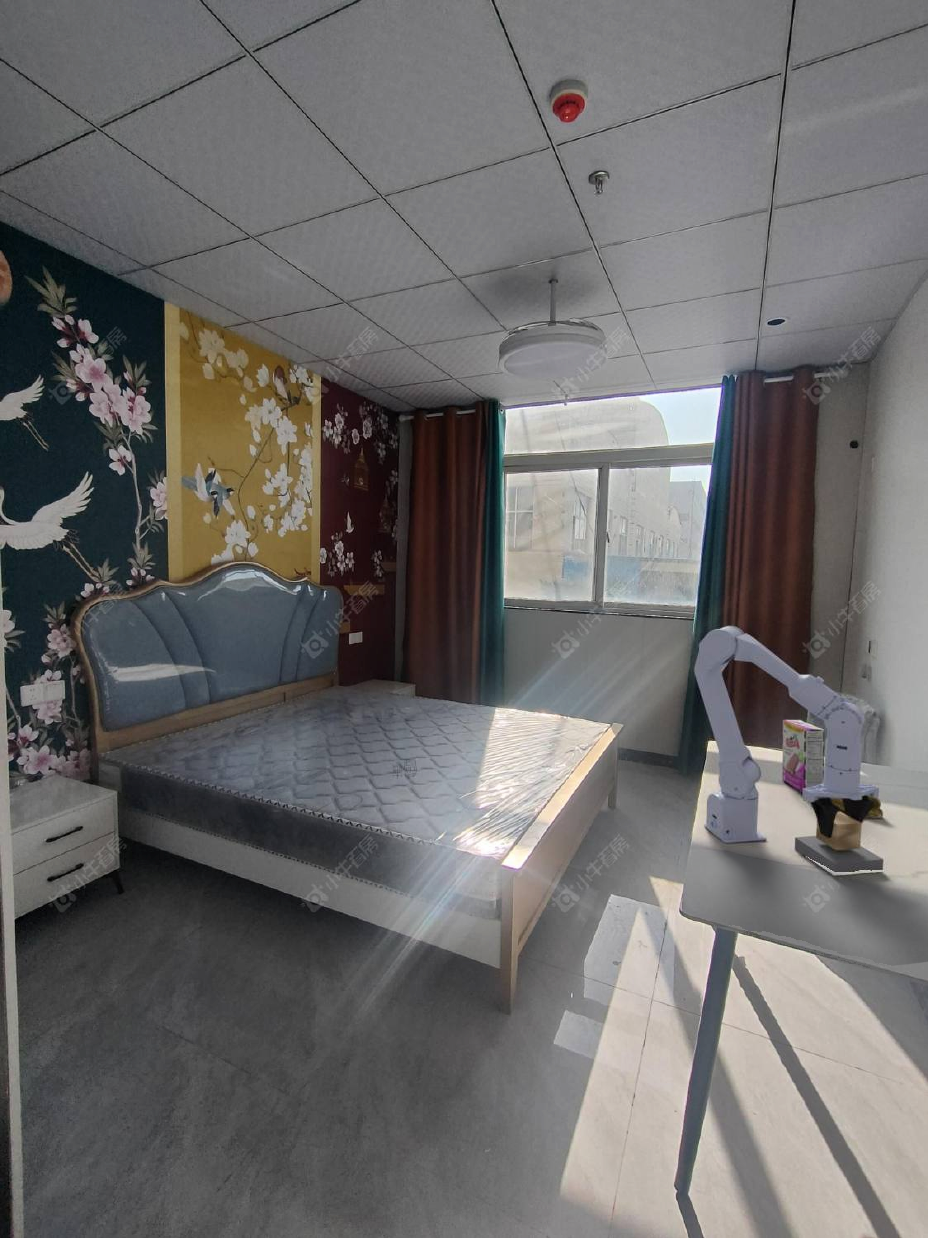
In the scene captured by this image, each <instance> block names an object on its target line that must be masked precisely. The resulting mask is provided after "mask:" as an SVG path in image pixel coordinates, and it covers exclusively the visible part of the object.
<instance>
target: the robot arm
mask: <svg viewBox="0 0 928 1238" xmlns="http://www.w3.org/2000/svg"><path fill="white" fill-rule="evenodd" d="M698 649H699V650H698V654H697V657H696V660H695V664H694V667H693V668H694V669H693V671H694V676H695V678H696V681H697V682H696V683H697V685H698V688H699V691H700V695H701V698H702V701H703V704H704V708H705V711H706V715H707V717H708V720H709V723H710V727H711V730H712V733H713V738H714V740H715V742H716V743H715V744H716V745H717V749H718V755H717V756H718V757H717V765H718V769H719V775H718V784H719V787H720V790H718V791H716V792H715V793H714V792H713V793H711V794H709V795H708V797H707V800H706V818H705V819H706V820H705V821H706V822H705V823H704V824H703V827H705V828H706V830H707V829H708V830H709V831H710V832H711V833H712V834H713V835H715V836H716V837H717V838H718V839H720V840H721V841H722V842H723V843H726V844H728V843H741V842H742V843H743V842H755V841H756V842H757V841H766V840H767V836H765V835H764V834H762V833H761V832H759V831H758V816H759V815H758V814H759V794H760V793H759V791H758V789H757V787H756V784H757V783H758V782H759V781H760V779H761V777H762V770H761V767H760V766H759V763H757V761H756V760H755V759H754V757H753V756H752V754H751V751H750V749H749V748H748V747H747V746H746V745H745V743H744V740H743V736H742V734H741V731H740V727H739V724H738V721H737V717H736V715H735V711H734V708H733V706H732V702H731V699H730V696H729V693H728V689H727V687H726V683H725V680H724V677H723V672H724V670H725V668H726V667H727V665H728V664H729V663H730V661H732V659H733V660H734V661H738V662H748V663H749V662H751V663H753V664H754V665H755V666H757V667H759V668H760V669H761V670H763V671H765V672H766V673H767V674H769V675H770V676H771V677H772V678H774V679H776V680H777V681H778V682H780V683H782V684H783V685H784V686H786V687H787V689H788V694H789V697H790V698H791V699H793V700H794V701H796V703H798V704H799V705H800V706H802V707H803V708H805V709H806V710H807V711H808V712H809V713H811V714H812V715H814V716H815V717H816V718H818V719H820V720H823V722H824V726H825V728H826V729H827V734H826V735H827V736H826V737H827V738H826V739H825V743H824V780H823V784H820V785H816V786H813V787H810V788H803V793H802V794H801V795H802V796H801V797H802V799H803V800H806V802H809V804H810V806H811V808H812V810H813V811H814V814H815V818H816V822H817V821H818V825H819V829H820V833H821V834H822V835H824V836H826V837H827V838H831V836H832V832H833V827H834V820H835V817H836V814H837V812H838V810H839V807H838V806H836V805H834V804H833V802H831V799H840V798H842V800H843V804H844V811H845V813H844V814H846V815H848V816H850V817H851V818H853V819H855V820H857V821H859V822H861V825H862V824H863V822H864V820H865V819H866V818H865V817H866V815H867V814H868V813H869V811H870V810H871V809H872V808H873V807H874V802H873V801H871V800H869V799H868V797H870V796H871V797H873V798H878V799H879V796H880V795H879V793H880V787H877V786H876V785H873V784H870V783H861V771H862V769H861V768H862V767H861V766H862V754H863V753H862V752H863V751H862V750H863V745H862V741H863V735H862V731H863V728H864V723H865V717H866V716H865V713H864V711H863V709H862V708H861V707H860V706H859V705H858V704H857V703H856V701H852V700H850V699H849V700H848V697H847V696H845V695H844V694H842V695H840V694H838V693H837V692H835V691H834V690H833V689H831V688H830V687H828V685H826V684H824V682H825V679H824V678H822V677H820V675H819V676H817V677H815V676H814V675H812V674H800V673H798V672H797V671H796V670H795V669H793V668H792V667H791V666H790V665H788V664H787V663H786V662H785V661H784V660H782V659H781V658H779V657H778V656H777V655H776V654H774V652H773V651H771V650H770V649H768V648H767V647H766V646H765V645H764V644H762V643H761V642H760V641H758V640H757V639H755V637H753V636H751V634H748V633H745V632H744V631H743V630H742V629H740V628H738V627H737V626H734V625H726V626H724V627H721V628H717V629H713V630H711V631H709V632H707V634H706V635H705V636H704V638H702V640H700V642H699V644H698Z"/></svg>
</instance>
